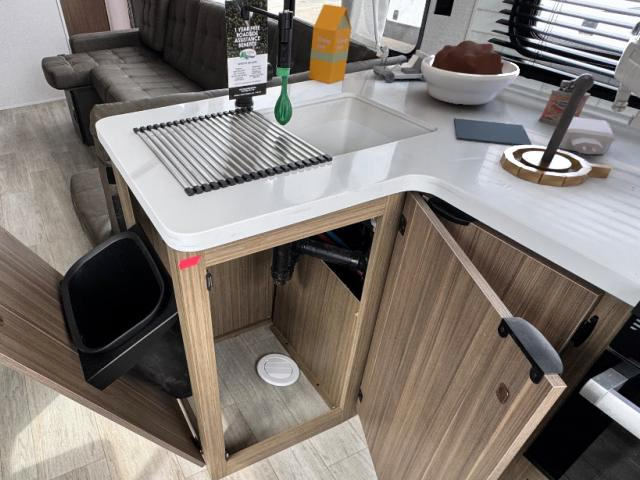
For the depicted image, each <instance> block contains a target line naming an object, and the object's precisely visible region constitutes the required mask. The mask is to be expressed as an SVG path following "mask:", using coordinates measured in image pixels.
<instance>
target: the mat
mask: <svg viewBox="0 0 640 480" xmlns="http://www.w3.org/2000/svg"><path fill="white" fill-rule="evenodd" d="M453 123H454V129H455V135H456V136H455V137H456V140H459V141H468V142H477V143H478V142H479V143H486V144H495V145H496V144H497V145H506V146H512V147H513V146H520V145H533V144H532V141H531V139H530V137H529V135H528V133H527V131H526V129H525V127H524V125H523V124H515V123H508V122H507V123H506V122H497V121H486V120H478V119H477V120H476V119H465V118H455V117H454V119H453Z"/></svg>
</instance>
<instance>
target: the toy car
mask: <svg viewBox="0 0 640 480" xmlns="http://www.w3.org/2000/svg"><path fill="white" fill-rule="evenodd" d="M378 48H379V50H378V51H377V52H376V56H377V57H378V58H381V61H380V63H377V64H375V65H373V66H372V72H373V73H374V74H375V75H382V76H384V81H385V82H386V83H388V84H391V83H393V82H394V81H395V80H398V79H399V80H403V79H404V80H405V79H421V80H422V81H423V82H424V81H426V80H425V79H424V77H423V74H422V71H421V62H422V61H423V59H425V58H426V57H428V56H431V55H430V54H428V53H426V52H424V51H422V50H420V49H415V54H414V53H413V54H412V55H411V57H410V59H409V60H408V62H407V63H406V64H403V61H402V60H401V59H397V60H396V64H395V65H394V66H392V67H388V66H386V65H387V61H388V56H389V51H390V50H389V46H388V44H387V45H384V46H382V47H381V46H379V47H378ZM384 59H385V60H384ZM383 61H384V64H383Z"/></svg>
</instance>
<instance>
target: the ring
mask: <svg viewBox="0 0 640 480" xmlns="http://www.w3.org/2000/svg"><path fill="white" fill-rule="evenodd" d="M546 147H547V146H544V145H535V144H532V145H520V146H513V145H512V146H510V147H508V148H507V149H505V150H504V151H503V153H502V155H501V157H500V160H499V161H500V164H501V165H500V166H501V168H503V170H505V171H506V172H508V173H510V174H511V175H513V176H515V177H517V178H519V179H522V180H525V181H529V182H531V181H532V183H535V184H539V185H547V186H554V187H571V186H579V185H581V184H583V183H584V182H585V181H586V180H587V179H588V178H589V177H593V178H602V179H603V178H604V179H607V178H608V176H609V174H610V173H611V171H612V169H613V168H612V167H611V166H610V165H608V164H599V163H590V162H588V160H586V159H585V158H582V157H581V156H579V155H576V154H575V153H572V152H571V151H568V150H564V149H559V148H558V150H557V152H556V155H559V156H562V157H564V158H566V159H568V160H569V161H570V162H571V164H572V165H571V168H570V169H572V170H573V172H568V173H555V172H546V171H541V170H538V169H535V168H531V167H528V166H525V165H523V164H522V163H520V162H519V161H518V160H516V158H521V157H522V155H523V154H524V153H526V152H530V151H541V152H544V151H545V149H546Z"/></svg>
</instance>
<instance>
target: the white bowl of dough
mask: <svg viewBox="0 0 640 480" xmlns="http://www.w3.org/2000/svg"><path fill="white" fill-rule="evenodd" d="M502 58H503V56H502V55H501V54H500V53H499V52H495V47H494V44H493V43H490V42H489V43H478V42H476V41H474V40H471V39H468V40H462V41H460V42H459V43H457V45H450V44H446V45H444V46H443V47H442V49H440V50H438V51H437V52H436V53H435V54H432V55H430V56H428V57H426V58H425V59H423V61H422V62H421V71H422V74H423V77H424V79H425V80H426V82H425V83H426V89H427V93H428V94H429V95H430V96H431V97H432V98H434V99H436V100H438V101H441V102H444V103H448V104H452V103H453V105H458V104H463V105H462V106H477V105H484V104H487V103H490V102H491V101H493V100H494V99H496V97H497V96H498V95H499V94H500V92H501V91H502V90H504V89H505V88H507V87H509V86H510V85H511V84H512V83H513V82H514V81H515V80H516V79H517V78H518V76H519V74H520V68H519V66H518V65H517V64H515V63H513V62H512V61H508V60H504V59H502Z"/></svg>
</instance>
